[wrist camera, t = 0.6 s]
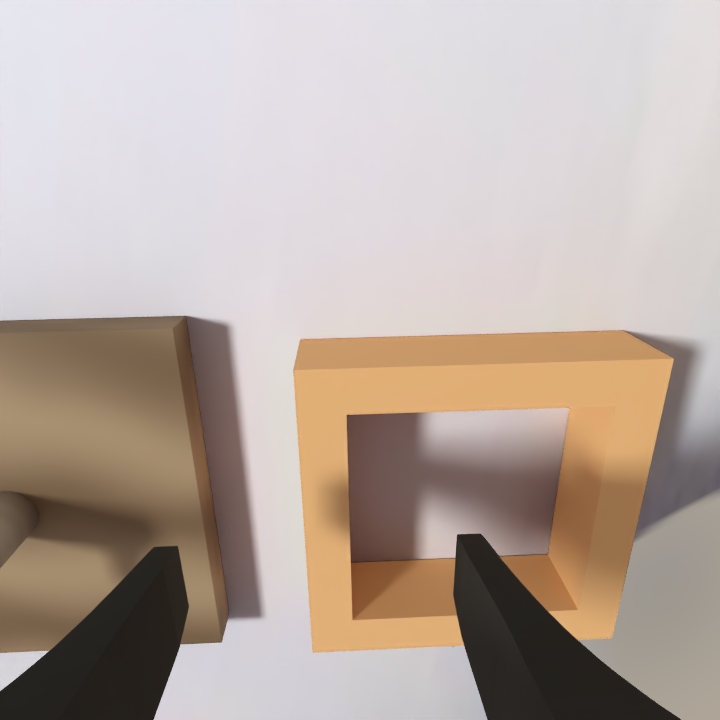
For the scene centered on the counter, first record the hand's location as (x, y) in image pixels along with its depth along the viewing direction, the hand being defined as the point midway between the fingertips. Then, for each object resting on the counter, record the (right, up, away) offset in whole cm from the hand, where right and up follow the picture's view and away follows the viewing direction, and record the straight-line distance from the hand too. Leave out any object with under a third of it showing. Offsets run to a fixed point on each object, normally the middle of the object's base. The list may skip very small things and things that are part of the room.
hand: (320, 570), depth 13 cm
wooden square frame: (+5, +1, +8) cm, 9 cm away
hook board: (-12, 0, +7) cm, 14 cm away
